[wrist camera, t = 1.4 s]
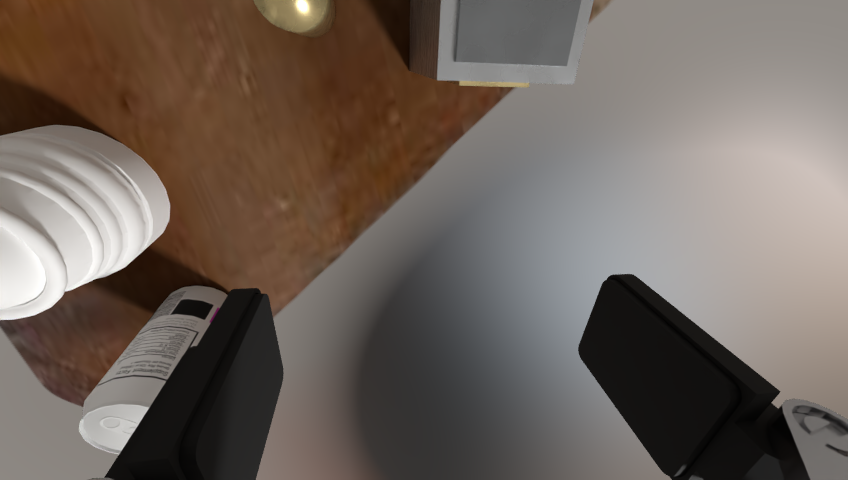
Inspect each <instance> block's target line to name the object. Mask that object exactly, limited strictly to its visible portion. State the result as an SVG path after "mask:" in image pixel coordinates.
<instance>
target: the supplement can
mask: <svg viewBox="0 0 848 480" xmlns="http://www.w3.org/2000/svg"><path fill="white" fill-rule="evenodd" d="M227 296H228V295H227V294H225V293H224V292H222V291H220V290H217V289H215V288H211V287H204V286H189V287H183V288H180V289H178V290H176V291H174V292H172V293H171V294H170V295H169V296H168V297H167V298H166V299H165V301H164V302H163V303H162V304H161V306H160V307H159V308H158V309H157V311H156V312H155V313H154V314H153V316H152V317H151V318H150V319H149V321H148V322H147V323H146V325H145V326H144V327H143V328H142V330H141V331H140V332H139V333H138V335H137V336H136V337H135V338H134V340H133V341H132V342H131V343H130V345H129V346H128V347H127V348H126V350H125V351H124V352H123V353H122V355H121V356H120V357H119V358H118V360H117V361H116V362H115V363H114V365H113V366H112V367H111V368H110V370H109V371H108V372H107V373H106V375H105V376H104V377H103V378H102V380H101V381H100V382H99V383H98V385H97V386H96V387H95V389H94V390H93V391H92V392H91V394H90V395H89V396H88V397H87V399H86V400H85V401H84V408H83V417H82V419H81V421H80V425H79V431H80V433H81V435H82V437H83V438H84V440H86V441H87V442H89V443H90V444H92V445H93V446H94V447H96V448H99V449H101V450H104V451H107V452H109V453H115V454H120V452H121V451H122V449H123V448H124V446H125V445H126V443H127V442H128V440H129V438H130V437H131V435H132V434H133V432H134V431H135V429H136V428H137V426H138V424H139V423H140V421H141V420H142V418H143V417H144V415H145V414H146V412H147V410H148V409H149V407H150V406H151V404H152V403H153V401H154V400H155V398H156V396H157V395H158V393H159V392H160V390H161V389H162V387H163V386H164V384H165V382H166V381H167V379H168V378H169V376H170V375H171V373H172V372H173V370H174V368H175V367H176V365H177V364H178V362H179V361H180V359H181V357H182V356H183V355H184V353H185V352H186V351H187V350H188V349H189V348H191V347H192V346H197V345H198V343H199V341H200V340H201V338H202V336H203V335H204V333H205V331H206V330H207V328H208V327H209V325H210V323H211V322H212V320H213V318H214V317H215V315H216V314H217V312H218V310H219V309H220V307H221V305H222V304H223V302H224V301H225V299H226V297H227Z"/></svg>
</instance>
